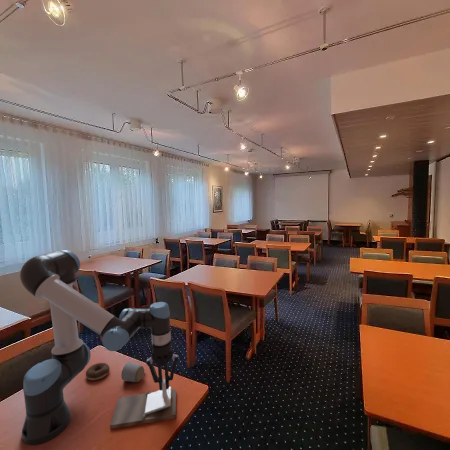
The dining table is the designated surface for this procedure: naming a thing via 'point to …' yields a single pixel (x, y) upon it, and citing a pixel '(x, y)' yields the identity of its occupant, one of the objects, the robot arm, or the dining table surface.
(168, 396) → the tile
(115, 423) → the hinge board
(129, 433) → the dining table surface
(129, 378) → the ceramic mug
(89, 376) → the donut
